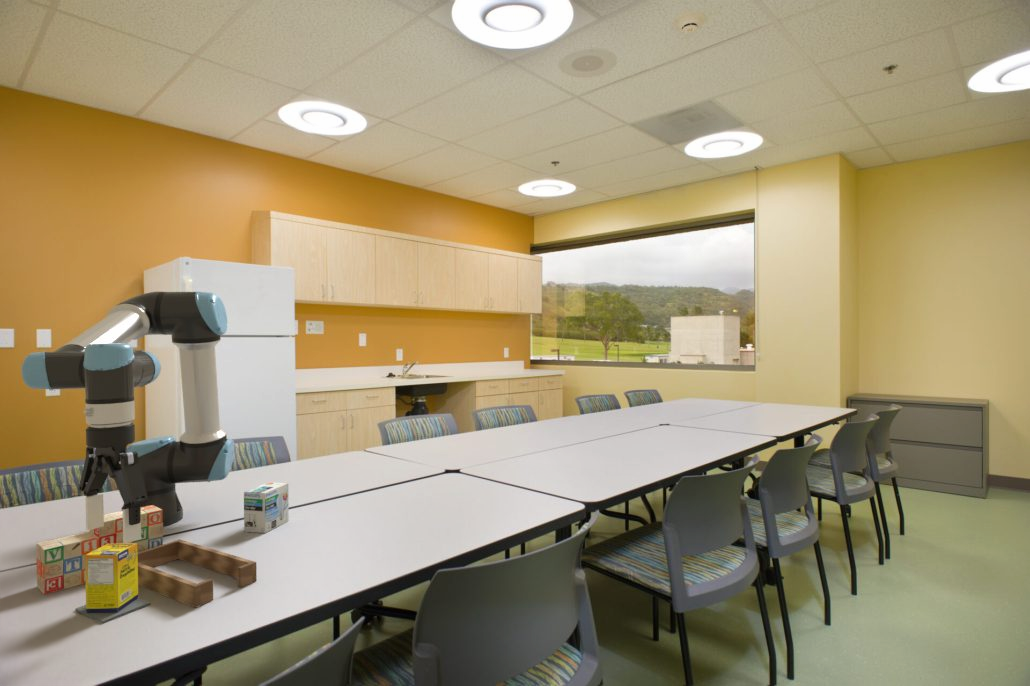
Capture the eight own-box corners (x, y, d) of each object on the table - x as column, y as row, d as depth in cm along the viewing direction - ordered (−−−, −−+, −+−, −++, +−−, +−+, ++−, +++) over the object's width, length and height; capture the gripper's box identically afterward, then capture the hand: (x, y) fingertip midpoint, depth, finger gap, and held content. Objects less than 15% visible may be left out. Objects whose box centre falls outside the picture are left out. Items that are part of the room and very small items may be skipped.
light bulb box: (265, 534, 144) (265, 493, 144) (242, 532, 146) (242, 491, 145) (289, 520, 155) (289, 482, 155) (268, 519, 156) (268, 481, 156)
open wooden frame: (118, 577, 118) (117, 558, 118) (179, 556, 130) (179, 539, 130) (195, 607, 105) (195, 586, 105) (256, 581, 116) (256, 562, 116)
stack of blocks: (43, 596, 110) (42, 534, 110) (36, 587, 114) (35, 528, 114) (163, 561, 127) (163, 508, 127) (153, 555, 131) (153, 503, 131)
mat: (75, 610, 104) (75, 608, 104) (122, 593, 111) (122, 591, 111) (102, 623, 99) (102, 621, 99) (149, 604, 106) (149, 602, 106)
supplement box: (139, 597, 108) (138, 542, 108) (117, 612, 102) (116, 554, 102) (108, 598, 108) (107, 542, 108) (85, 613, 102) (84, 554, 102)
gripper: (55, 421, 107) (58, 529, 108) (123, 433, 95) (126, 554, 96) (99, 416, 114) (102, 517, 114) (168, 426, 102) (170, 539, 102)
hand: (113, 534), depth 105 cm, fingers open, 13 cm apart
